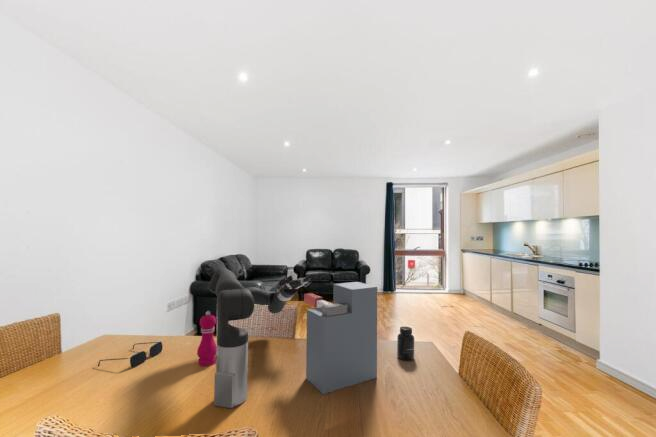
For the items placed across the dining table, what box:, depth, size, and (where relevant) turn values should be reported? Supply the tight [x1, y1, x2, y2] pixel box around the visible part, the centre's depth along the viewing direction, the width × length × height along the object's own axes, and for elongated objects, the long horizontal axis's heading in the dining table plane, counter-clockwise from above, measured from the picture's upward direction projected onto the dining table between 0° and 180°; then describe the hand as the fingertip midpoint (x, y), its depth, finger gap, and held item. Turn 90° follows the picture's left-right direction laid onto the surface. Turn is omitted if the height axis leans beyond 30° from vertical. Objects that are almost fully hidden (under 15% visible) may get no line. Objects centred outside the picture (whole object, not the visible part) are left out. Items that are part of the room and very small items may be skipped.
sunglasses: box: [97, 341, 163, 368], centre depth 122 cm, size 17×15×5 cm
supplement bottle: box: [396, 326, 415, 361], centre depth 126 cm, size 7×7×12 cm
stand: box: [305, 281, 378, 395], centre depth 108 cm, size 12×22×32 cm, turn 121°
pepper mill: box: [196, 310, 217, 367], centre depth 119 cm, size 7×7×20 cm
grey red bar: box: [303, 292, 347, 317], centre depth 110 cm, size 22×8×3 cm, turn 31°
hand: (300, 276), depth 130 cm, fingers open, 8 cm apart
